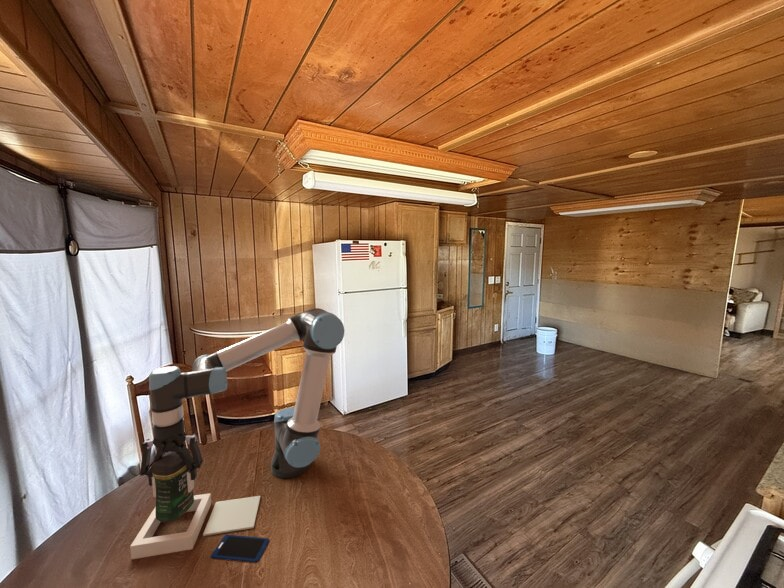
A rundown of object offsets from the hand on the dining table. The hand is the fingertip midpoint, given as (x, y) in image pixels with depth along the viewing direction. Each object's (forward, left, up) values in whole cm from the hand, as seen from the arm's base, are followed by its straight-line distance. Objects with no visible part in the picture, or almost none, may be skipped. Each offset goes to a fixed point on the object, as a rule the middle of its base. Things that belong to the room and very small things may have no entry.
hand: (174, 491), depth 97 cm
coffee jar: (0, 0, -7) cm, 7 cm away
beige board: (-16, -2, -12) cm, 20 cm away
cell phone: (-20, +11, -13) cm, 27 cm away
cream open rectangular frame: (0, 0, -12) cm, 12 cm away
